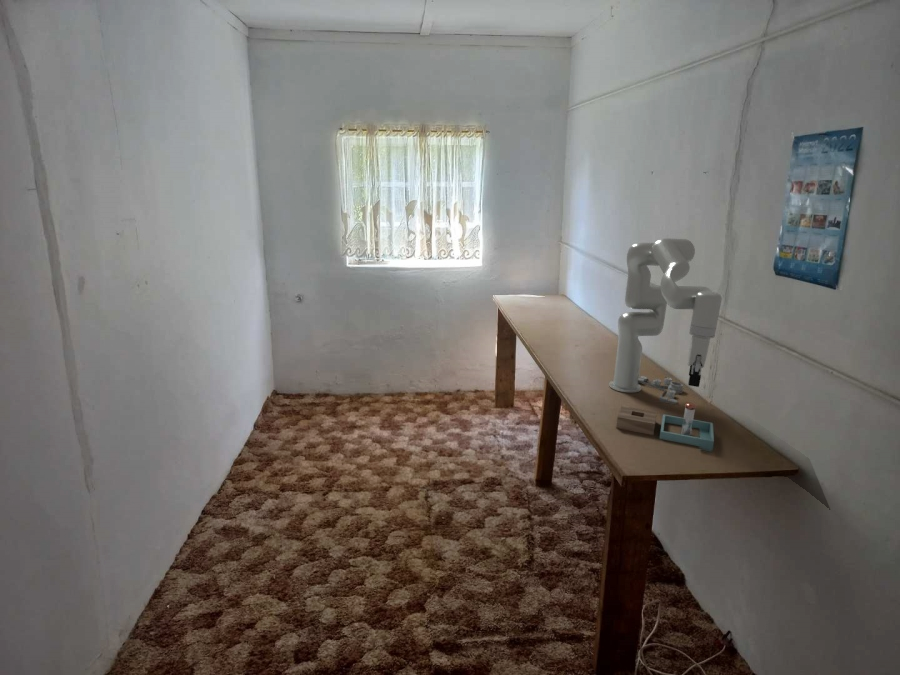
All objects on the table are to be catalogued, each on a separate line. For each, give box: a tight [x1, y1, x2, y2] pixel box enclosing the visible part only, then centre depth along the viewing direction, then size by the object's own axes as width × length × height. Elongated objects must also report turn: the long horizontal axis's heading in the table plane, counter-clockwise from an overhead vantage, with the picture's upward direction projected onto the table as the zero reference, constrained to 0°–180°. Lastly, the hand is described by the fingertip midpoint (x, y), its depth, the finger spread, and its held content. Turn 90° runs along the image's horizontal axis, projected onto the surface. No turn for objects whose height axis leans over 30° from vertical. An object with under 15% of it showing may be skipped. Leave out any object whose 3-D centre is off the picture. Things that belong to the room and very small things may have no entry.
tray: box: [659, 414, 715, 452], centre depth 194 cm, size 16×16×4 cm
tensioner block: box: [615, 404, 658, 436], centre depth 199 cm, size 12×12×5 cm
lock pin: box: [680, 402, 697, 436], centre depth 193 cm, size 3×3×11 cm
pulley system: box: [638, 375, 684, 405], centre depth 237 cm, size 27×5×15 cm
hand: (693, 380), depth 190 cm, fingers open, 9 cm apart
